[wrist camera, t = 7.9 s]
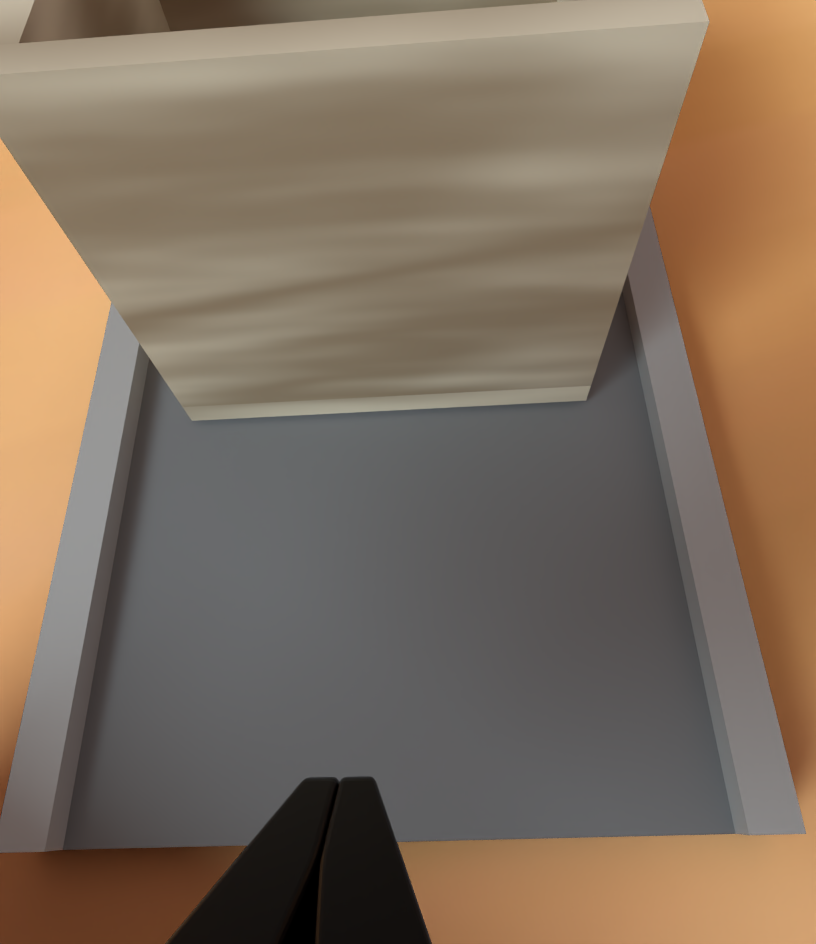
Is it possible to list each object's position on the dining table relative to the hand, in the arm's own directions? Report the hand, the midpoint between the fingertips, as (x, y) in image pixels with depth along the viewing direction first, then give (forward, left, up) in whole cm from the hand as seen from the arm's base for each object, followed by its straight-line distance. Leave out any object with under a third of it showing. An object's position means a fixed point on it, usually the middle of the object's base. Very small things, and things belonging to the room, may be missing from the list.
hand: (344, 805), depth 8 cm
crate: (+15, 0, -9) cm, 18 cm away
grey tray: (+10, 0, -10) cm, 14 cm away
